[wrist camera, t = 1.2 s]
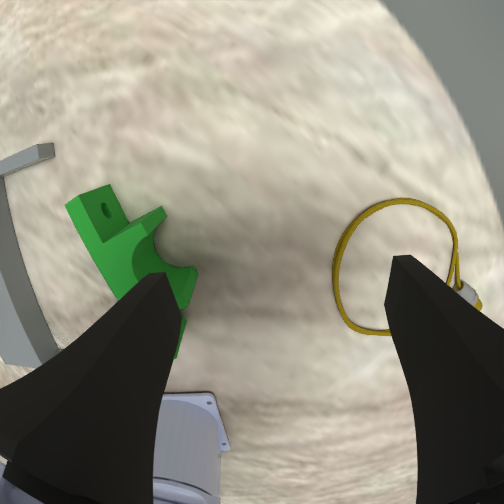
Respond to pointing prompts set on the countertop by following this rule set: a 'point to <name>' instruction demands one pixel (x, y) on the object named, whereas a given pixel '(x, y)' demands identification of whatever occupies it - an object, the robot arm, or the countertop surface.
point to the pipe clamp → (126, 246)
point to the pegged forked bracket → (20, 281)
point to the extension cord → (460, 286)
